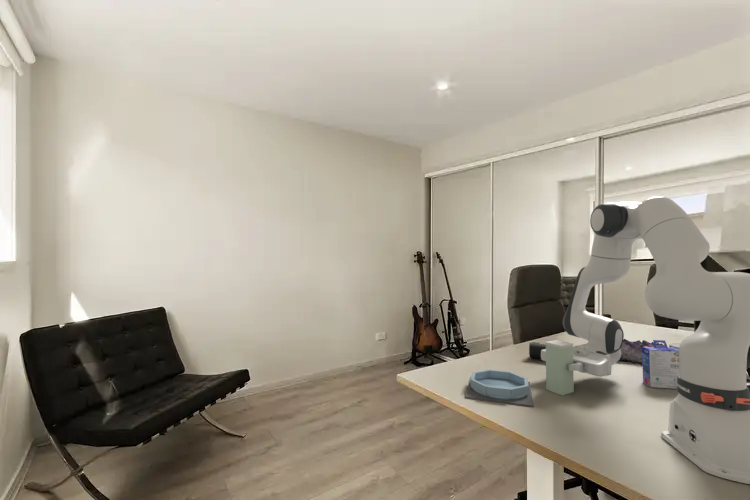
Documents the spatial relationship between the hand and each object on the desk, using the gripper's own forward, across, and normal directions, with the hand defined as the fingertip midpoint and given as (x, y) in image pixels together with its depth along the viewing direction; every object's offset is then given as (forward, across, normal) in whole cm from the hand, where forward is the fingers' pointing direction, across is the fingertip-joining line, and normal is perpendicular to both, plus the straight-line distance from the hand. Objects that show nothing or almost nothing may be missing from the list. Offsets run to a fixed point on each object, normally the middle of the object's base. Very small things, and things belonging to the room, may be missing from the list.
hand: (557, 364), depth 112 cm
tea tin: (-1, 0, +8) cm, 8 cm away
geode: (-57, -5, +9) cm, 58 cm away
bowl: (+15, -10, +8) cm, 20 cm away
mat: (+15, -10, +8) cm, 20 cm away
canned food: (-50, +13, +8) cm, 52 cm away
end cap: (-25, -24, +9) cm, 36 cm away
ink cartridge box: (-34, +14, +9) cm, 38 cm away
